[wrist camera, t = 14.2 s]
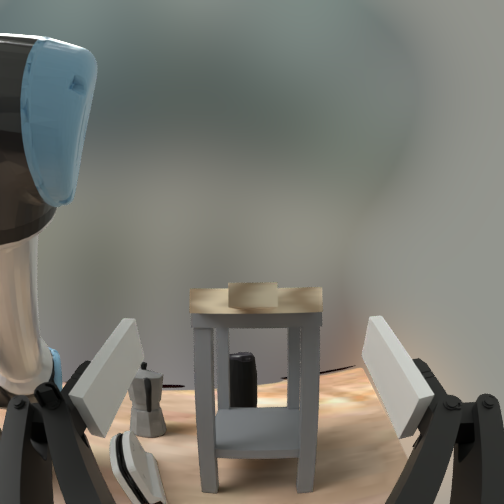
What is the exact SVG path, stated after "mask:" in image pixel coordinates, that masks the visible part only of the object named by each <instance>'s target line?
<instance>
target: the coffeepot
mask: <svg viewBox="0 0 504 504" xmlns="http://www.w3.org/2000/svg"><path fill="white" fill-rule="evenodd" d="M146 367H147V363H145V362H142V363H141V370H138V371H137V373H136V375H135V377H134V379H133V381H132V383H131V385H130V387H129V389H128V392H129V397H130V400H131V401H132V405H133V406H132V408H131V420H130V431H133V432H134V434H135V435H137V436H140V437H147V438H152V437H159V436H162V435H163V434H165V432H166V429H167V428H166V425H165V421H164V417H163V414H162V410H161V408H160V404H159V402H160V400H161V393H162V383H163V374H161V373H158V372H154V371H150V370H146Z"/></svg>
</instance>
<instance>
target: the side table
mask: <svg viewBox="0 0 504 504" xmlns="http://www.w3.org/2000/svg"><path fill="white" fill-rule="evenodd" d="M320 326H322V312H307V313H270V314H206V313H191V327H193V328H194V379H195V405H196V424H197V440H198V454H199V466H200V477H201V487H202V492H208V493H217V491H218V488H219V480H218V464H217V458H235V459H278V458H297V457H298V463H297V480H296V488H297V493H308V492H313V484H314V473H315V461H316V447H317V431H318V410H319V376H320ZM213 328H216V330H217V331H216V335H217V337H216V338H217V394H218V412H217V414H216V416H215V395H214V353H213V352H214V351H213V350H214V349H213V348H214V347H213ZM229 328H287V329H288V387H287V407H267V408H241V407H230V369H229ZM299 403H300V411H299Z"/></svg>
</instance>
